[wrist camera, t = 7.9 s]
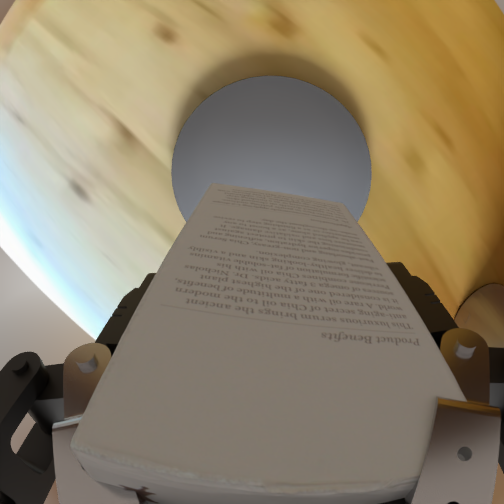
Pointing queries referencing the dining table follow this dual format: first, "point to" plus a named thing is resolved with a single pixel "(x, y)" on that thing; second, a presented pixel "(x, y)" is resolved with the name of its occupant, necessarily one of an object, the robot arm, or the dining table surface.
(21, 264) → the dining table surface
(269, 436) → the skincare box
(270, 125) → the dish
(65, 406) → the robot arm
